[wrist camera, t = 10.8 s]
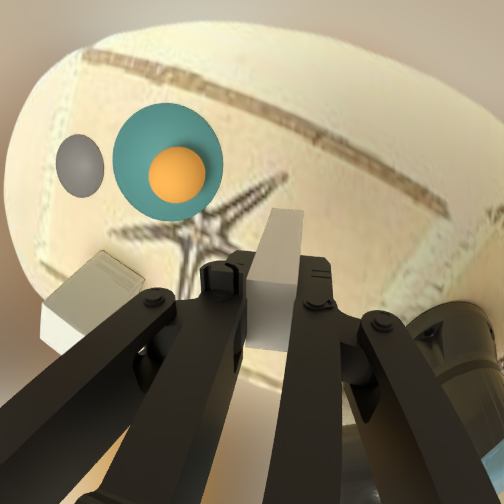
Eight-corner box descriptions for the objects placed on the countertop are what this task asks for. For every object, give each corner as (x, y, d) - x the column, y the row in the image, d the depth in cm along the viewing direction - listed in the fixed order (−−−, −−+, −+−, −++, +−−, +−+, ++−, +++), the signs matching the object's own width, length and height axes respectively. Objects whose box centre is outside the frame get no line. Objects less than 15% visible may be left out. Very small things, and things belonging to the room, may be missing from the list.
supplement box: (101, 247, 38) (40, 300, 27) (146, 279, 39) (95, 342, 28) (89, 285, 42) (37, 338, 31) (130, 313, 43) (85, 374, 32)
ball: (160, 148, 31) (208, 139, 30) (170, 197, 34) (217, 191, 32) (132, 157, 27) (186, 145, 25) (145, 213, 29) (197, 207, 27)
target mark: (222, 100, 28) (222, 100, 28) (223, 224, 34) (223, 225, 34) (110, 109, 30) (109, 109, 30) (119, 217, 36) (118, 218, 36)
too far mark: (100, 131, 31) (100, 131, 31) (107, 197, 35) (106, 198, 35) (54, 138, 33) (53, 138, 32) (61, 197, 36) (60, 197, 36)
